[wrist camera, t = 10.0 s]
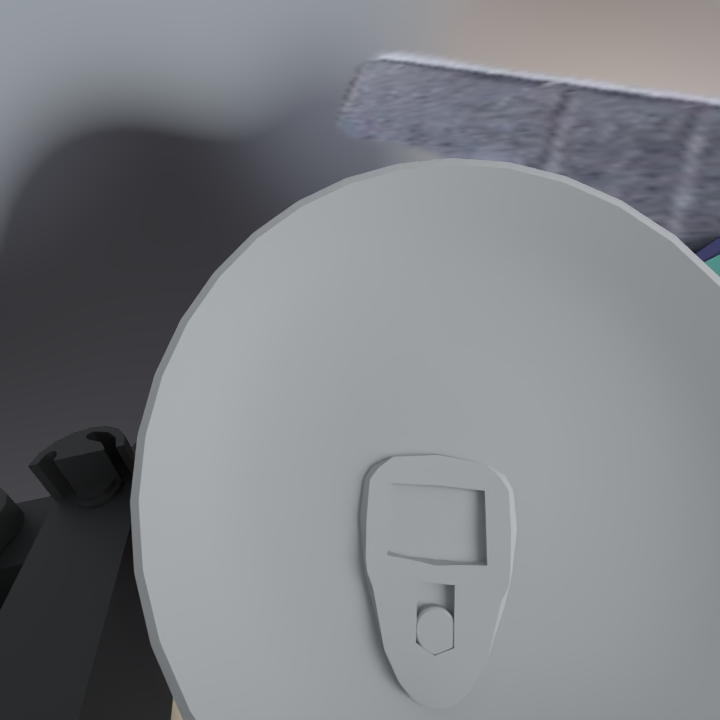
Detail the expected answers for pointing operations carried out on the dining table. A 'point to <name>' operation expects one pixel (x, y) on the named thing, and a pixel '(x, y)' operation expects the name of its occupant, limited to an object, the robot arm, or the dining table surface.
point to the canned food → (439, 461)
